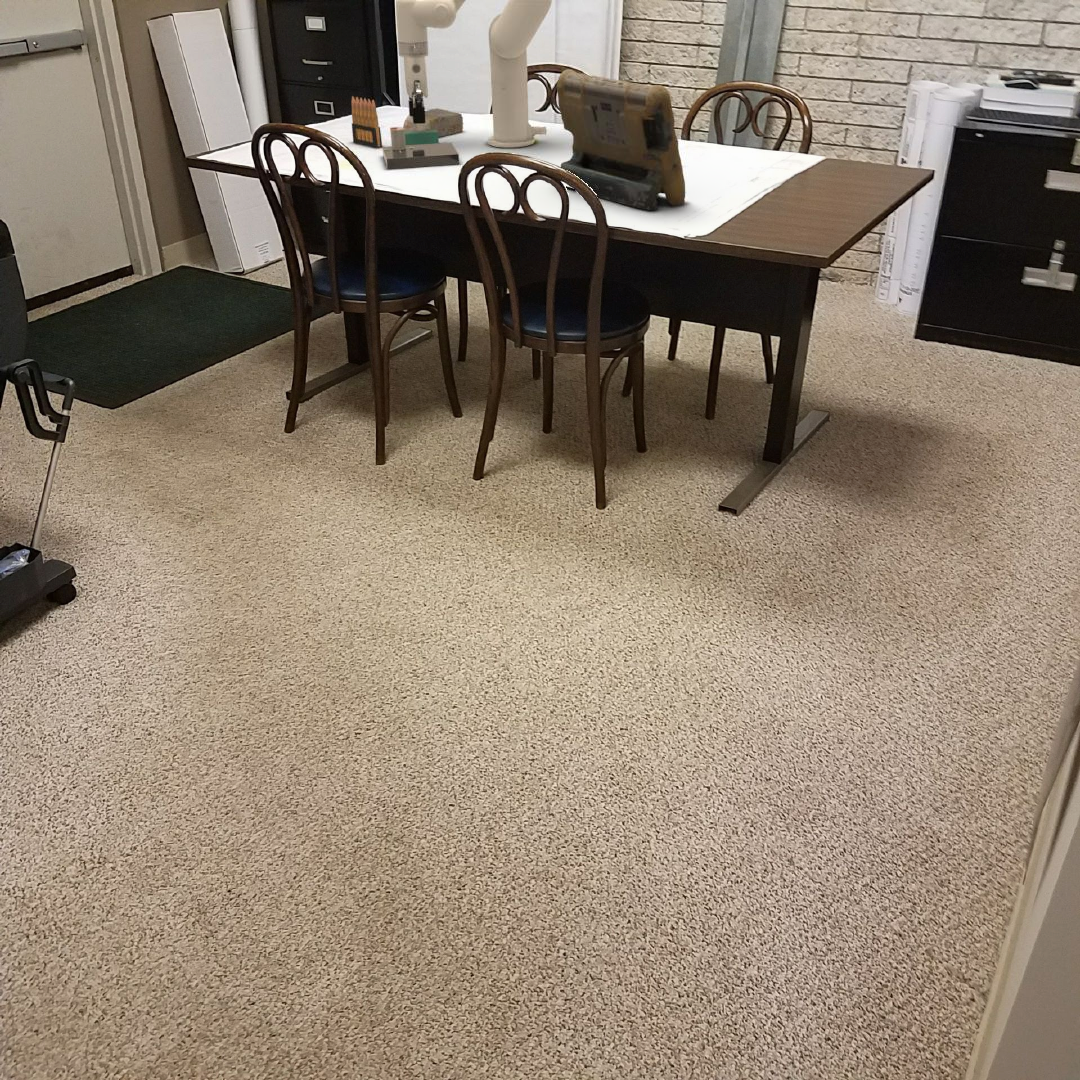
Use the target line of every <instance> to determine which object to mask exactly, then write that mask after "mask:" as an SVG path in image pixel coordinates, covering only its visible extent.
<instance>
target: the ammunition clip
mask: <svg viewBox="0 0 1080 1080" xmlns="http://www.w3.org/2000/svg"><path fill="white" fill-rule="evenodd" d="M351 118H352V123H351V130H352V132H351V133H352V142H353V144H356V145H360V146H366V147H370V148H374V149H379V148H382V147H383V141H382V133H381V126H380V125H379V117H378V112H377V107H376V103H375V100H374V99H372V100H370V98H368V99H367V98H365V97H364V99H363V98H362V97H360V98H359V97H358V96H356V97H354V95H352V96H351Z"/></svg>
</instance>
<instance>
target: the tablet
mask: <svg viewBox="0 0 1080 1080" xmlns="http://www.w3.org/2000/svg"><path fill="white" fill-rule="evenodd" d="M556 93H557V97H558V98H557V99H558V100H557V101H558V109H559V112H560V117H561V120H562V123H563V130H564V131H565V130H566V131H568V132H569V133H570V134H571V135H572V147H571V148H572V150H571V151H572V156H571V158H570V159H569V160H566V161H563V162H561V164H560V168H563V169H565V170H568V171H570V172H571V173H573V174H575V175H576V176H578V177H579V178H580V179H582V180H583V181H584V182H585V183H587V184H588V186H589V187H591V188H592V189H593V191H594V192H595V193H596V194H597V196H598V197H597V198H599V199H604V200H607V201H609V202H610V201H611V202H613V203H618V204H623V205H627V206H630V207H633V208H637V209H642V210H649V211H652V212H653V211H655V210H658V208H659V205H658V202H657V199H658V196H659V194H664V197H665V199H666V201H667V202H668V203H670V204H671V205H672V206H673V207H674V206H675V207H679V206H681V205H683V204H685V202H686V201H685V198H686V181H685V177H684V170H683V164H682V159H681V155H680V149H679V140H678V137H677V134H676V129H675V123H676V121H675V120H676V119H675V115H674V111H673V106H672V100H671V95H670V92H669V91H668V89H667V88H666V87H665V86H663V85H661V84H655V85H647V84H640V83H637V82H636V83H634V82H630V81H627V80H621V79H615V78H608V77H601V76H600V77H599V76H598V75H597V76H596V75H590V74H589V75H588V74H586V73H580V72H577V71H575V70H574V69H570V68H569V69H568V68H567V69H565V70H563V71H562V72H561V73H560V74H559V76H558V78H557V83H556ZM566 188H568V189H570V190H572V189H571V188H569V187H566Z"/></svg>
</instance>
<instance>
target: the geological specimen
mask: <svg viewBox="0 0 1080 1080" xmlns="http://www.w3.org/2000/svg"><path fill="white" fill-rule="evenodd" d="M463 119H464V118H463V115H462V113H460V112H455V111H450V110H446V109H441V108H432V109H427V110H425V123H423V124H414V123H413V117H411V116H410V115H409V114H408V115H407V116H406V118H405V120H404V122H403V126H402V127H403V128H404V129H405V132H412V131H427V130H437V131H438V138H441V137H445V136H449V135H454V134H460V133H462V132H463V129H464V121H463Z"/></svg>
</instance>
